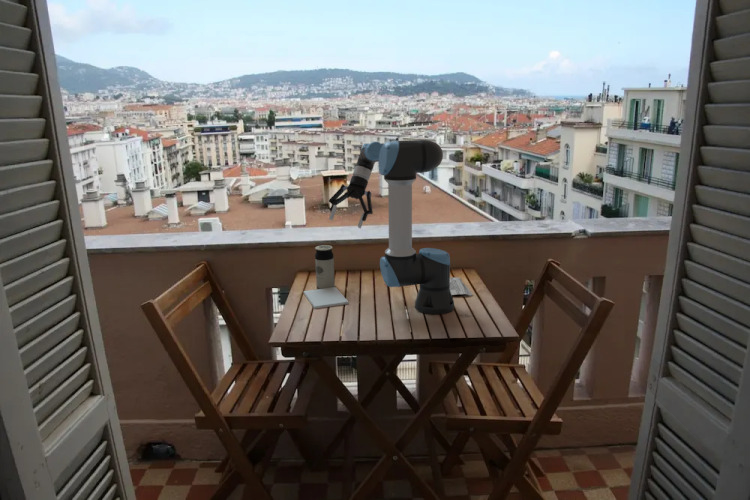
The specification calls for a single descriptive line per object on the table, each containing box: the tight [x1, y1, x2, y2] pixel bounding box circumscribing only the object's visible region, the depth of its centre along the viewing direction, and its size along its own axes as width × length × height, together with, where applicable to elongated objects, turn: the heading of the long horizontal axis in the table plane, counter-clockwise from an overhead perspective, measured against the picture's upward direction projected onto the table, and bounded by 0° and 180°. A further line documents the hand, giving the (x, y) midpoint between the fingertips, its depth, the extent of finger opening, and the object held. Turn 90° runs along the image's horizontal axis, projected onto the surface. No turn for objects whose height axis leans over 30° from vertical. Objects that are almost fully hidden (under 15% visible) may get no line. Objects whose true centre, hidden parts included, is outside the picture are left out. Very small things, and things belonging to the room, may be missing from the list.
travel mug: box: [314, 244, 336, 289], centre depth 242 cm, size 8×8×18 cm
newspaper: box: [450, 276, 474, 298], centre depth 239 cm, size 23×12×2 cm, turn 0°
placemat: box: [303, 286, 349, 310], centre depth 229 cm, size 20×14×1 cm
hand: (344, 223), depth 239 cm, fingers open, 13 cm apart
